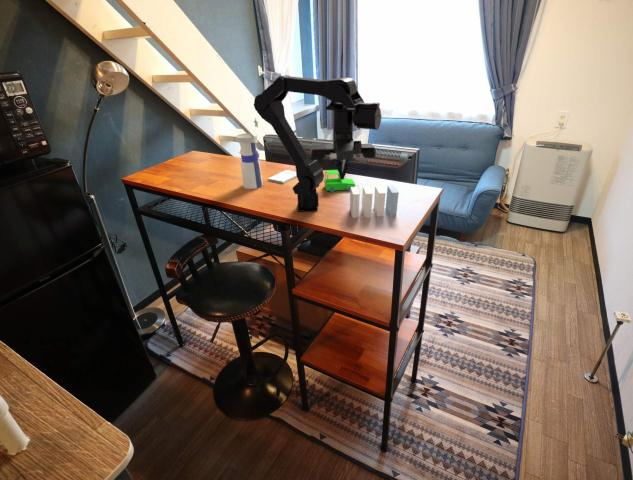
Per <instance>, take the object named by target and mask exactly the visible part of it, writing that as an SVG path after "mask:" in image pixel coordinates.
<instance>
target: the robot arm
mask: <svg viewBox="0 0 633 480" xmlns="http://www.w3.org/2000/svg"><path fill="white" fill-rule="evenodd" d="M289 92H291V93H296V94H297V93H298V94H305V95H306V94H307V95H314V96H321V97H323V98H325V99H327V100H328V101H330V103H329V104H328V105H327V106H326V107H325V110H326V111H332V147H330V148H326V147H325V145H324V144H315V145H311V147H310V157H309V156H308V154H307V153H306V151H305V149H304V148H303V145H302V144H301V142H300V140H299V139H298V137H297V136H296V134H295V132H294V131H293V129H292V127H291V126H290V124H289V121H288V120H287V119H286V115H285V114H286V113H285V107H284V104H283V101H284V100H285V99H286V97H287V95H288V94H289ZM380 104H381V103H380V102H372V103H371V102H365V100H364V99H363V98H362V96H361V94H360V93H359V91H358V86H357V83H356V81H355V80H354V78H352V77H339V78H331V79H318V78H309V77H299V76H291V75H288V74H286V75H281V76H278V77H276V79H275V80H274V81H273V82H272V84H270V85H268V87H266V89H264V90H263V91H262V93H260V94H257V95H256V96H255V97H254V102H253V108H254V110H255V111H256V113H258V115H259V116H260V117H261V119H262V120H264V121H265V122H266V123H268V124H269V125H270V126H272V128H273V130H274V131H275V134H276V136H277V137H278V139H279V141H280V142H281V143H282V145H283V147H284V149H285V151H286V152H287V154H288V155H289V158H290V159H291V161H292V162H293V164H294V166H295V172H296V176H297V177H296V178H297V180H298V182H297V183H296V184H295V185H294V186H293V187H292V190H293V193H294V194H295V195H297V212H317V211H318V208H319V193H318V192H317V188H319V186H320V184H321V183H322V182H324V179H325V174H324V172H323V171H324V170H325V169H323V167H321V164H320V162H319V161H318V160H322V161H323V159H324V158H325V157H326V156H329V159H330V161H331V162H333V163H335V166H336V168H337V170H338V172H339V175H340V178H341V180H343V179H344V178H345V177H346V174H347V172H348V169H349V167H350V164H351V163H353V162H355V161H356V159H357V158H356V155H358V156H359V155H362V156H363V157H364V158H365V159H371V158H372V159H373V158H376V157H377V156H376V154H377V151H376V150H377V149H376V148H375V146H374V145H373V144H372V142H370V143H362V141H361V140H354V127H356V128H357V129H361V130H375V131H377V130H379V129H380V126H381V124H382V117H383V115H382V112H381V107H380Z"/></svg>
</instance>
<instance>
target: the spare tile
mask: <svg viewBox="0 0 633 480" xmlns="http://www.w3.org/2000/svg"><path fill="white" fill-rule="evenodd" d="M386 189H387V190H386V198H385V209H386V211H387V213H388V216H390V217H397V212H398V202H399V191H398V190H397V188H396V187H395V185H394V184H393V185H387V188H386Z"/></svg>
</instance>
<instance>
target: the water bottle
mask: <svg viewBox="0 0 633 480" xmlns="http://www.w3.org/2000/svg"><path fill="white" fill-rule="evenodd" d="M253 122H254V125H255V127H256V128H259V126H258V123H259V122H258V121H257V118H256V117H255V118H254V120H253ZM258 139H259V138H258V134H256V135H254V136H252V133H249V132H247V133H246V132H245V133H240V134H236V137H235V139H234V140H235V142H236V143H239V145H240V150H239V154H240V157H241V158H240V159H241V162H240V166H241V175H242V177H241V178H242V187H243V188H244V189H246V190H256V189H259V188H262V187H263V186H264V183H263V178H262V170H261V169H262V168H261V162H260V160H259V158H260V153H259V150H258V149H257V144H259V140H258Z"/></svg>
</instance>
